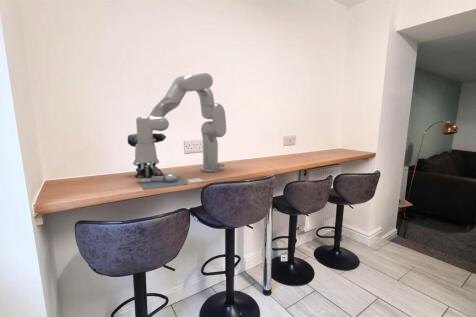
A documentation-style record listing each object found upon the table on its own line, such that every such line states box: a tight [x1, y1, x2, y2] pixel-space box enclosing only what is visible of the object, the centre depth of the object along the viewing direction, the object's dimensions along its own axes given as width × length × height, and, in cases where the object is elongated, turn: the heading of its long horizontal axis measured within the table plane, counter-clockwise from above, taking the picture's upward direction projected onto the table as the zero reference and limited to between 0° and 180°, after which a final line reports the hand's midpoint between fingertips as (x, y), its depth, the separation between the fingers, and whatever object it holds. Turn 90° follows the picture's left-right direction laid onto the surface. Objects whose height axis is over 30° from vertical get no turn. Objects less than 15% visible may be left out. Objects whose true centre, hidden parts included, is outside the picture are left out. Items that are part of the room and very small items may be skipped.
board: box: [137, 175, 190, 191], centre depth 126 cm, size 22×19×1 cm
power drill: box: [127, 133, 167, 179], centre depth 135 cm, size 9×23×25 cm, turn 79°
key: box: [144, 164, 150, 178], centre depth 125 cm, size 3×3×8 cm
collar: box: [138, 172, 178, 183], centre depth 126 cm, size 19×7×4 cm, turn 95°
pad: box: [186, 177, 204, 184], centre depth 129 cm, size 7×7×1 cm
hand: (147, 175), depth 125 cm, fingers closed on key, 2 cm apart
